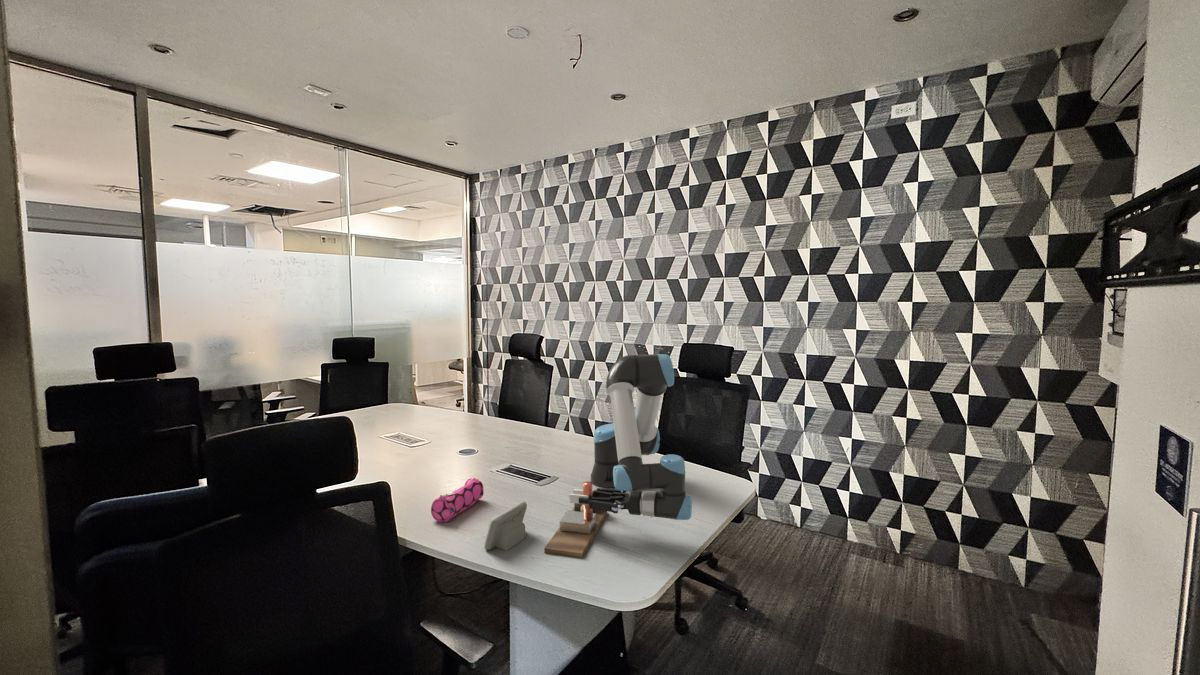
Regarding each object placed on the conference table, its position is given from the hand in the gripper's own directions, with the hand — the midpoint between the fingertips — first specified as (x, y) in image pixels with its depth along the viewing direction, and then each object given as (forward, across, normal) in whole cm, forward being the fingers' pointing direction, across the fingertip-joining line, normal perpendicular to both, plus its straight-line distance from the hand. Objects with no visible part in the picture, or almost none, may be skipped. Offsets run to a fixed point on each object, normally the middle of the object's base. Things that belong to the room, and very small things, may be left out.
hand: (572, 495), depth 157 cm
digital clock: (+19, -11, -12) cm, 25 cm away
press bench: (-2, 0, -12) cm, 12 cm away
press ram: (-2, 0, -10) cm, 10 cm away
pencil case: (+45, +4, -12) cm, 47 cm away
